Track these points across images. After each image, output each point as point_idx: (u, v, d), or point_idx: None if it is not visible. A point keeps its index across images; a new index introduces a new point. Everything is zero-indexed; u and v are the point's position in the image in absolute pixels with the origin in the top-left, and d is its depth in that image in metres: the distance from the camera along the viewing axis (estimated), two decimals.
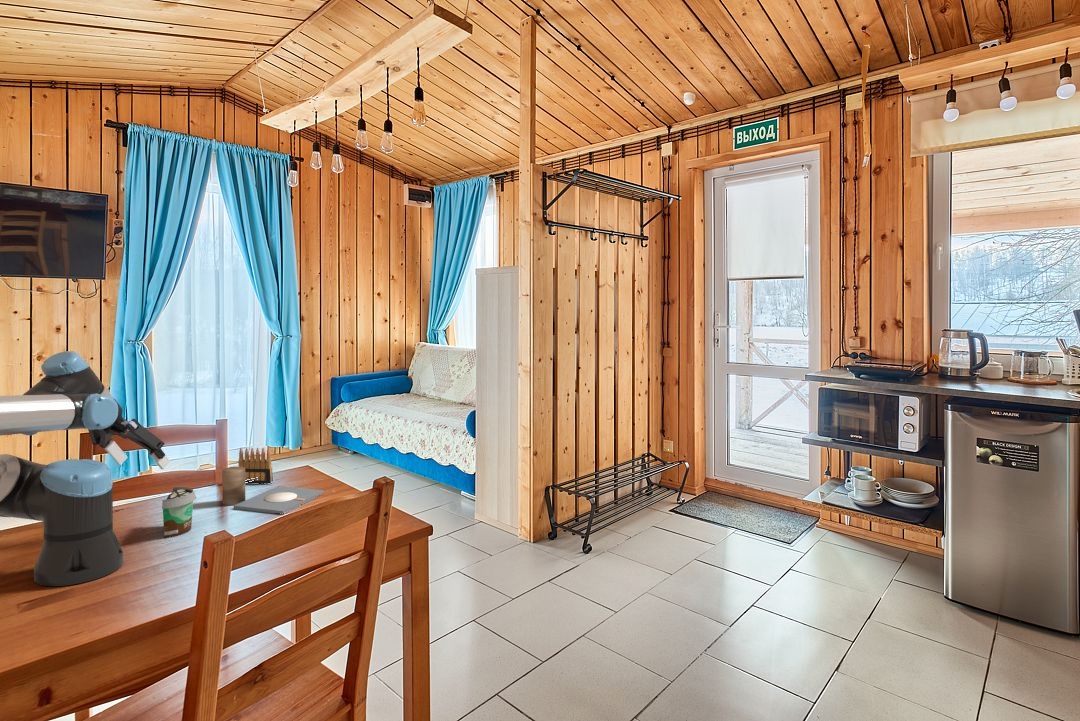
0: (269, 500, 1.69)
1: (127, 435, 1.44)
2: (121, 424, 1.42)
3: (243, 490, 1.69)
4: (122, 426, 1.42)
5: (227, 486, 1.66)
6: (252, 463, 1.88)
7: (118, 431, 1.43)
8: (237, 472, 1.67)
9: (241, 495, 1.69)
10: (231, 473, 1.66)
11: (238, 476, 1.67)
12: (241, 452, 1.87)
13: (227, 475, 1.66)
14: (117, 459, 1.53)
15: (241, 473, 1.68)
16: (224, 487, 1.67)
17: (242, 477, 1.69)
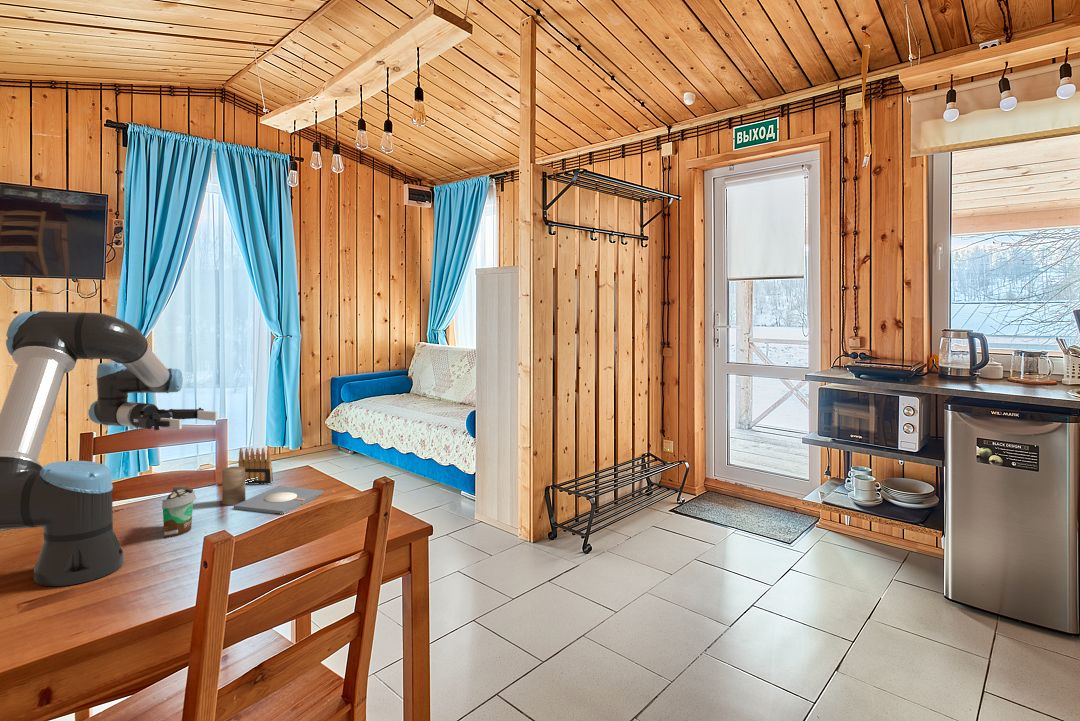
0: (269, 500, 1.69)
1: None
2: None
3: (243, 490, 1.69)
4: None
5: (227, 486, 1.67)
6: (252, 463, 1.88)
7: None
8: (237, 472, 1.67)
9: (241, 495, 1.69)
10: (231, 473, 1.66)
11: (238, 476, 1.67)
12: (241, 452, 1.87)
13: (227, 475, 1.66)
14: None
15: (241, 473, 1.68)
16: (224, 487, 1.67)
17: (242, 477, 1.69)
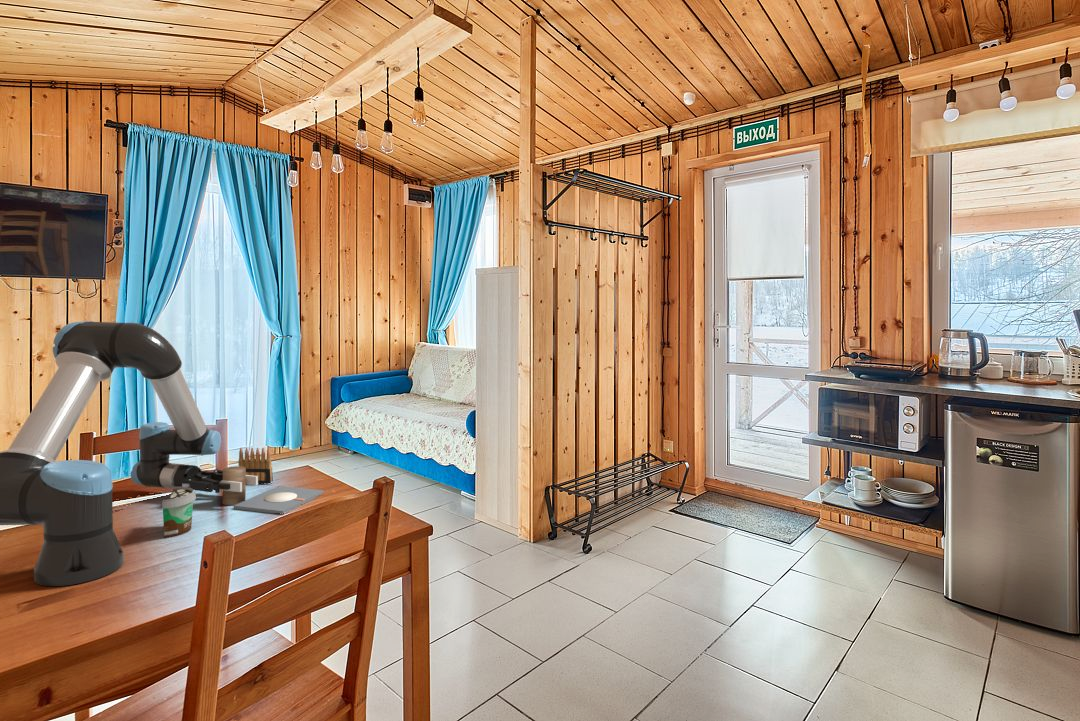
0: (269, 500, 1.69)
1: None
2: None
3: (243, 490, 1.69)
4: None
5: None
6: (252, 463, 1.88)
7: None
8: (238, 472, 1.67)
9: (241, 495, 1.69)
10: (232, 473, 1.66)
11: (239, 476, 1.68)
12: (241, 452, 1.87)
13: (228, 475, 1.66)
14: None
15: (242, 473, 1.68)
16: None
17: (243, 477, 1.69)
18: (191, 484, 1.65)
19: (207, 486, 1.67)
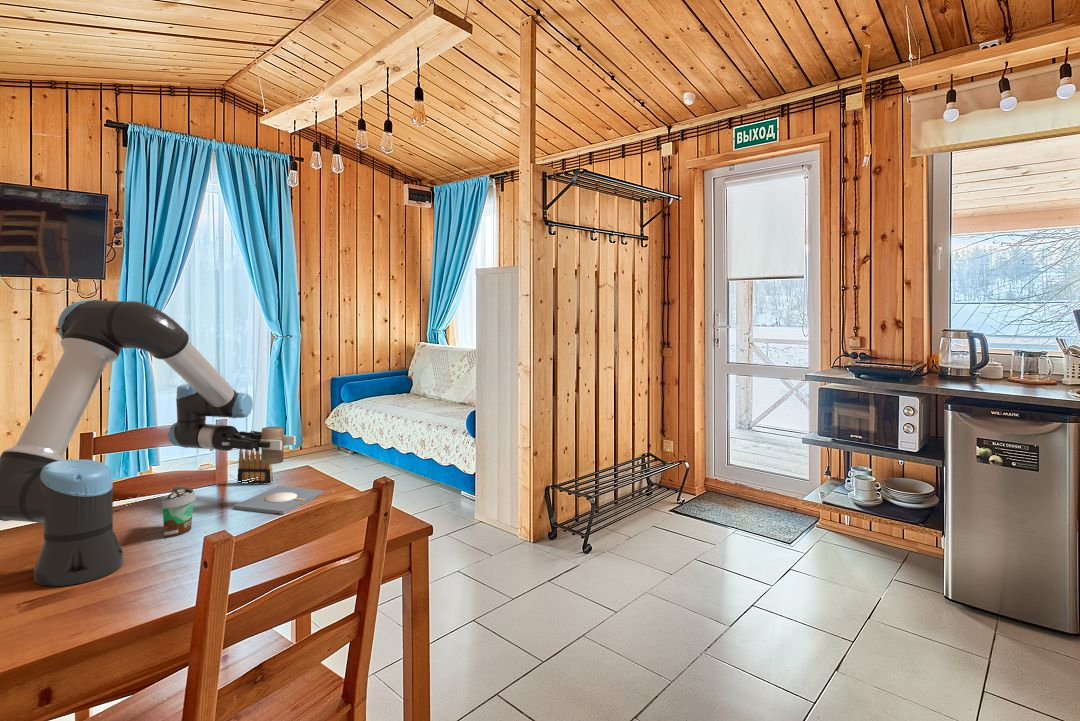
0: (269, 500, 1.69)
1: None
2: None
3: (282, 449, 1.71)
4: None
5: None
6: (252, 463, 1.88)
7: None
8: (277, 431, 1.69)
9: (280, 454, 1.70)
10: (271, 432, 1.68)
11: (278, 435, 1.69)
12: (241, 452, 1.87)
13: (267, 433, 1.68)
14: None
15: (281, 432, 1.70)
16: None
17: (281, 436, 1.71)
18: (231, 442, 1.67)
19: None
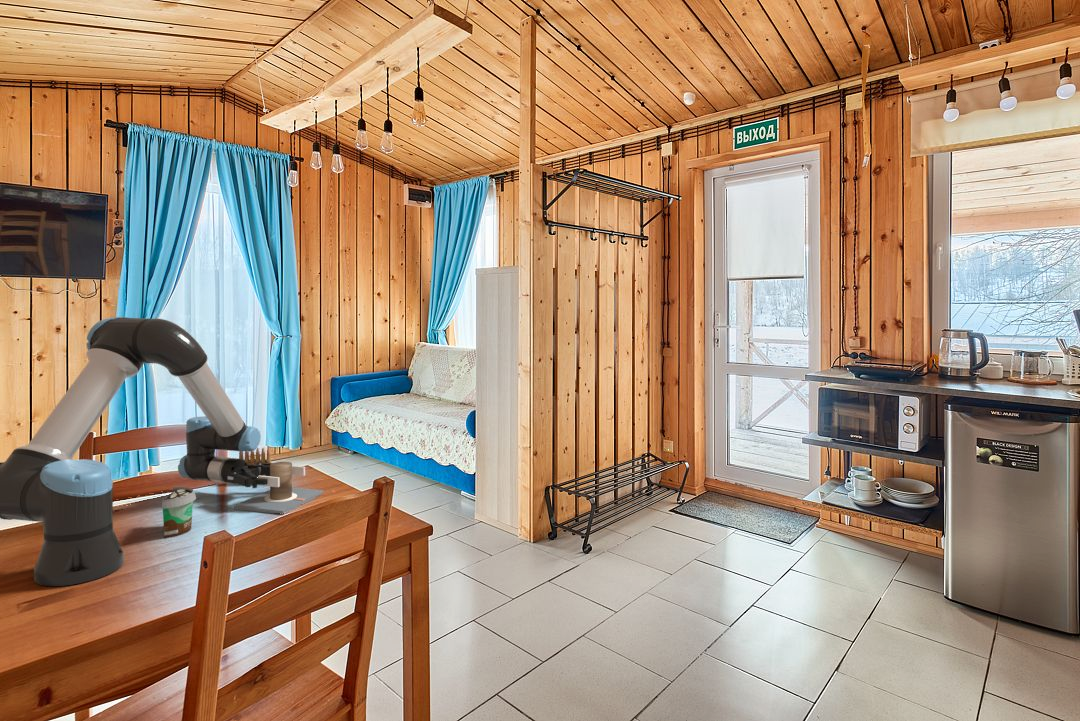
0: (269, 500, 1.69)
1: None
2: None
3: (290, 485, 1.72)
4: None
5: None
6: (252, 463, 1.88)
7: None
8: (285, 467, 1.70)
9: (288, 490, 1.71)
10: (279, 468, 1.69)
11: (286, 471, 1.70)
12: (241, 452, 1.87)
13: (275, 470, 1.69)
14: None
15: (289, 468, 1.71)
16: None
17: (289, 472, 1.71)
18: (234, 477, 1.67)
19: None
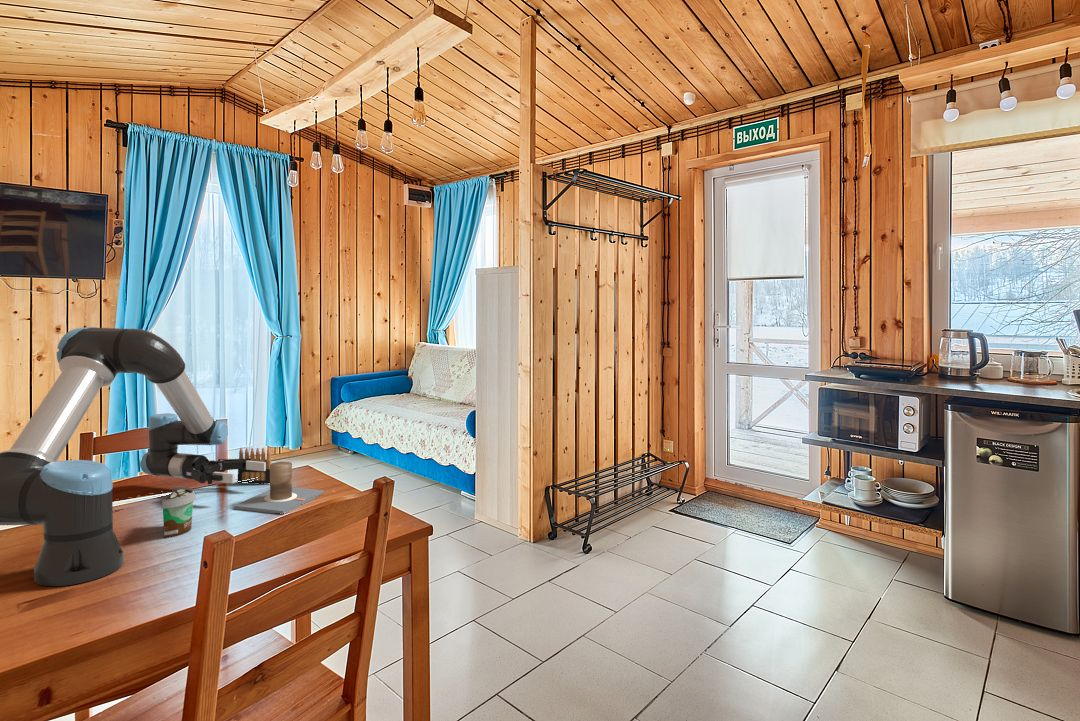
0: (269, 500, 1.69)
1: None
2: None
3: (290, 485, 1.72)
4: None
5: (276, 481, 1.69)
6: None
7: None
8: (285, 467, 1.70)
9: (288, 490, 1.71)
10: (279, 468, 1.69)
11: (286, 471, 1.70)
12: (241, 452, 1.87)
13: (275, 470, 1.69)
14: None
15: (289, 468, 1.71)
16: (272, 482, 1.69)
17: (289, 472, 1.71)
18: (192, 473, 1.69)
19: None
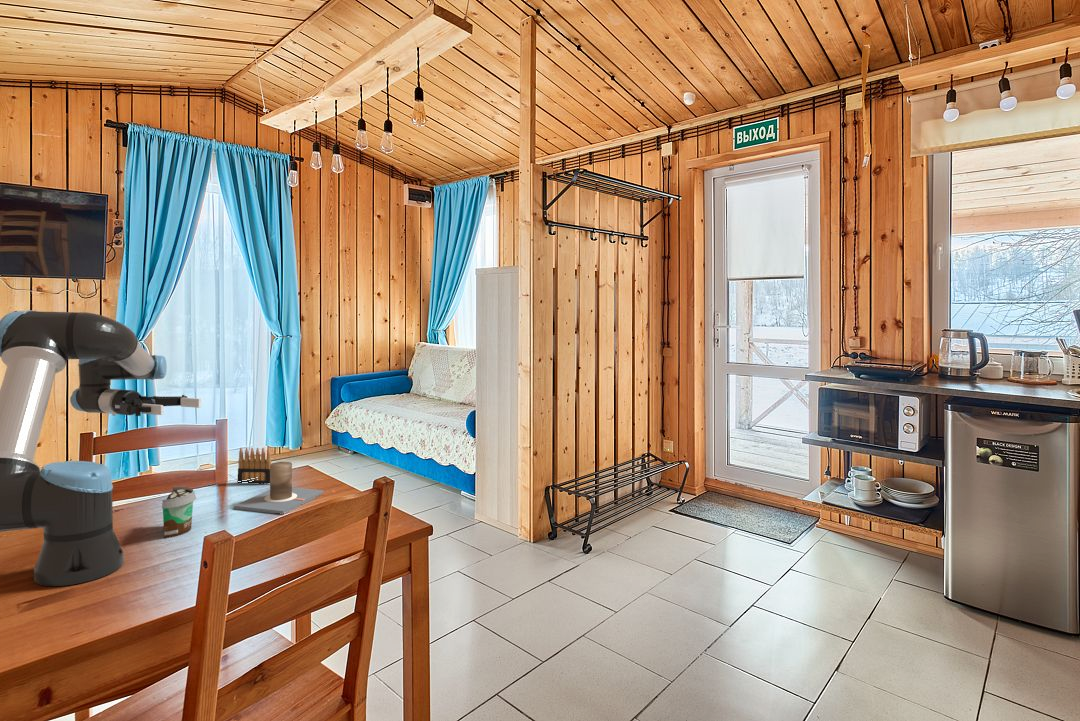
0: (269, 500, 1.69)
1: None
2: None
3: (290, 485, 1.72)
4: None
5: (276, 481, 1.69)
6: (252, 463, 1.88)
7: None
8: (285, 467, 1.70)
9: (288, 490, 1.71)
10: (279, 468, 1.69)
11: (286, 471, 1.70)
12: (241, 452, 1.87)
13: (275, 470, 1.69)
14: None
15: (289, 468, 1.71)
16: (272, 482, 1.69)
17: (289, 472, 1.71)
18: (120, 406, 1.64)
19: None
